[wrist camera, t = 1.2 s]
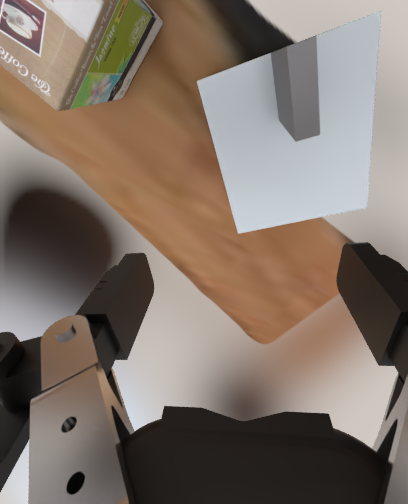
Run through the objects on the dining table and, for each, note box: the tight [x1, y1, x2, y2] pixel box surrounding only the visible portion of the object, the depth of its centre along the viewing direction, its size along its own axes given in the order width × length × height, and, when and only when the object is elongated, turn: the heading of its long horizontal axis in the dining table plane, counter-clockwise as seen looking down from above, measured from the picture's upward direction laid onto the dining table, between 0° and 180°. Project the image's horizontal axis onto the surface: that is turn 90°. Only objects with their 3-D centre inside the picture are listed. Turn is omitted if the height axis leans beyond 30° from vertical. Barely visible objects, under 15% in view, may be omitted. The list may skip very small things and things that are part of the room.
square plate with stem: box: [197, 11, 381, 234], centre depth 21 cm, size 16×14×9 cm
